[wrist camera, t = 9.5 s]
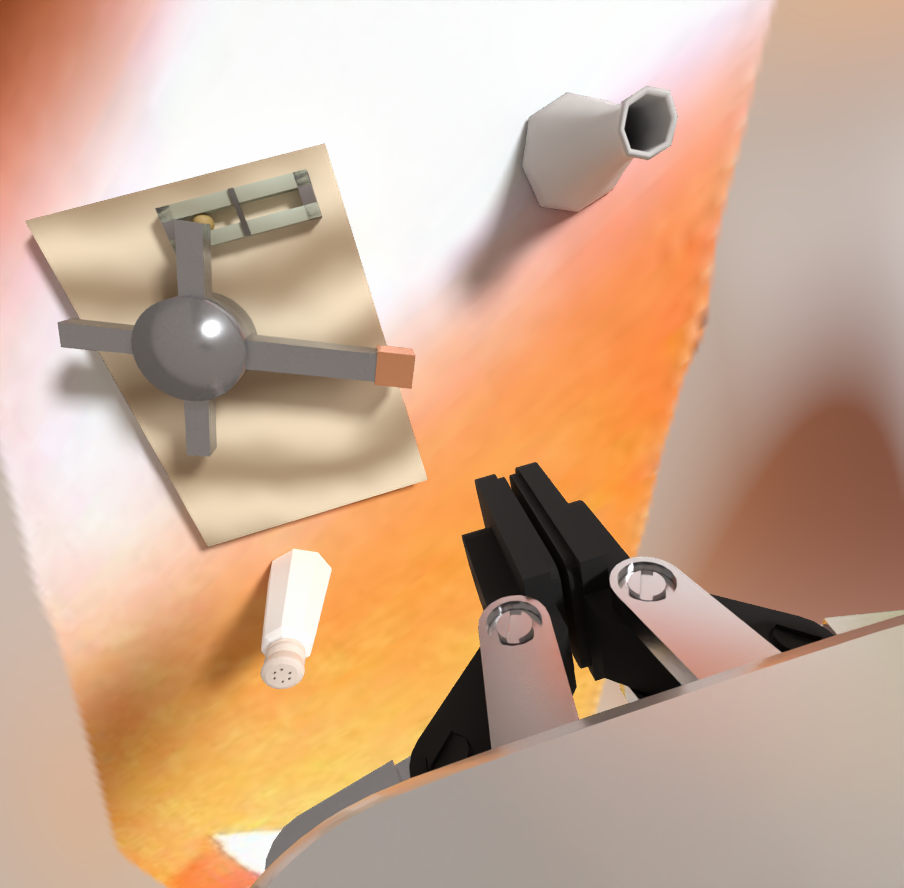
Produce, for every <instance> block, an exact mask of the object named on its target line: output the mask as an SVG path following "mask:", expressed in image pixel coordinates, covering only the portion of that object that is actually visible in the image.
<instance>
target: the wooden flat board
mask: <svg viewBox="0 0 904 888" xmlns="http://www.w3.org/2000/svg"><path fill="white" fill-rule="evenodd" d="M174 219H176V220H184V221H190V222H197V223H203V224H210V235H211V268H212V292H215V293H218V294H221V295H224V296H226V297H228V298H230V299H231V300H233V301H235V302H236V303H237V304H239V305H240V306H241V307H242V308H243V309H244V310H245V311H246V313H247V314H248V315H249V317H250V318H251V320H252V322H253V324H254V326H255V328H256V331H257V335H264V336H273V337H281V338H290V339H299V340H308V341H317V342H326V343H335V344H344V345H353V346H362V347H371V348H376V346H377V345H383V346H387V345H386V342H385V339H384V335H383V332H382V329H381V325H380V322H379V319H378V316H377V312H376V309H375V306H374V303H373V299H372V296H371V293H370V290H369V286H368V283H367V280H366V276H365V273H364V270H363V267H362V263H361V260H360V257H359V254H358V250H357V247H356V244H355V241H354V237H353V234H352V231H351V227H350V224H349V221H348V218H347V214H346V211H345V208H344V205H343V201H342V198H341V195H340V192H339V188H338V185H337V182H336V179H335V175H334V172H333V169H332V165H331V162H330V159H329V156H328V152H327V149H326V146H325V144H321V145H317V146H313V147H309V148H306V149H302V150H298V151H294V152H290V153H286V154H282V155H278V156H275V157H271V158H267V159H263V160H259V161H255V162H251V163H247V164H244V165H240V166H236V167H232V168H228V169H224V170H220V171H216V172H213V173H209V174H205V175H201V176H197V177H193V178H189V179H185V180H182V181H178V182H174V183H170V184H166V185H162V186H158V187H154V188H151V189H147V190H143V191H139V192H135V193H131V194H127V195H123V196H120V197H116V198H112V199H108V200H104V201H100V202H96V203H92V204H89V205H85V206H81V207H77V208H73V209H69V210H65V211H61V212H58V213H54V214H50V215H46V216H42V217H38V218H34V219H30V220H27V221H25V222H26V224H27V225H28V227H29V229H30V231H31V232H32V234H33V236H34V238H35V240H36V241H37V243H38V245H39V247H40V249H41V250H42V252H43V254H44V256H45V257H46V259H47V261H48V263H49V265H50V266H51V268H52V270H53V272H54V273H55V275H56V277H57V279H58V281H59V282H60V284H61V286H62V288H63V289H64V291H65V293H66V295H67V297H68V298H69V300H70V302H71V304H72V305H73V307H74V309H75V311H76V313H77V314H78V316H79V318H80V319H84V320H93V321H102V322H111V323H120V324H129V325H135V323H136V321H137V319H138V318H139V316H140V315H141V314H142V313H143V312H144V311H145V310H146V309H147V308H149V307H150V306H151V305H153V304H155V303H157V302H160V301H163V300H166V299H169V298H173V297H176V296H178V283H177V264H176V246H175V227H174ZM98 352H99V354H100V355H101V357H102V359H103V361H104V362H105V364H106V366H107V368H108V370H109V371H110V373H111V375H112V377H113V378H114V380H115V382H116V384H117V386H118V387H119V389H120V391H121V393H122V394H123V396H124V398H125V400H126V402H127V403H128V405H129V407H130V409H131V410H132V412H133V414H134V416H135V418H136V419H137V421H138V423H139V425H140V427H141V428H142V430H143V432H144V434H145V435H146V437H147V439H148V441H149V443H150V444H151V446H152V448H153V450H154V451H155V453H156V455H157V457H158V459H159V460H160V462H161V464H162V466H163V467H164V469H165V471H166V473H167V475H168V476H169V478H170V480H171V482H172V483H173V485H174V487H175V489H176V491H177V492H178V494H179V496H180V498H181V499H182V501H183V503H184V505H185V507H186V508H187V510H188V512H189V514H190V516H191V517H192V519H193V521H194V523H195V524H196V526H197V528H198V530H199V532H200V533H201V535H202V537H203V539H204V540H205V542H206V544H207V546H208V547H210V546H213V545H216V544H220V543H223V542H226V541H229V540H233V539H236V538H239V537H242V536H246V535H249V534H252V533H256V532H259V531H262V530H265V529H269V528H272V527H275V526H278V525H282V524H285V523H288V522H291V521H295V520H298V519H301V518H304V517H308V516H311V515H314V514H318V513H321V512H324V511H327V510H331V509H334V508H337V507H340V506H344V505H347V504H350V503H353V502H357V501H360V500H363V499H366V498H370V497H373V496H376V495H380V494H383V493H386V492H389V491H393V490H396V489H399V488H402V487H406V486H409V485H412V484H415V483H419V482H422V481H425V480H427V476H426V473H425V469H424V466H423V463H422V459H421V456H420V453H419V450H418V446H417V443H416V440H415V437H414V433H413V430H412V427H411V423H410V420H409V417H408V414H407V410H406V407H405V404H404V401H403V397H402V394H401V391H400V388H399V387H389V386H378V385H375V384H374V382H372V381H362V380H352V379H341V378H331V377H320V376H310V375H300V374H289V373H279V372H269V371H258V370H247V371H246V372H245V373H244V375H243V376H242V377H241V378H240V379H239V380H238V381H237V383H236V384H235V385H234V386H233V387H232V388H231V389H230V390H229V391H227V392H226V393H224V394H223V395H221V396H219V397H217V398H215V402H216V435H217V448H216V449H215V451H214V452H213V453H212V455H211V456H210V457H209V456H192V455H187V449H186V430H185V412H184V400H182V399H178V398H175V397H172V396H170V395H168V394H166V393H164V392H162V391H161V390H159V389H157V388H156V387H155V386H154V385H152V384H151V383H150V382H149V381H148V380H147V379H146V378H145V376H144V375H143V374H142V373H141V371H140V369H139V368H138V366H137V364H136V362H135V359H134V356H133V354H126V353H116V352H105V351H98Z"/></svg>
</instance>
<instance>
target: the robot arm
mask: <svg viewBox="0 0 904 888" xmlns="http://www.w3.org/2000/svg"><path fill="white" fill-rule="evenodd" d="M515 472H516V474H512V475H510V483H511V487H510V486H509V484H508V482H507V481H506V479H505V478H504V477H502V478H499V479H498V478H497V476H496V475H495V474H493V475H489V476H486V477H482V478H479V479H476V480H475V485H476V490H477V494H478V498H479V503H480V507H481V511H482V516H483V520H484V524H485V528H484V529H481V530H478V531H474V532H471V533H468V534H464V535H462V539H463V543H464V547H465V551H466V555H467V559H468V562H469V566H470V570H471V573H472V576H473V580H474V583H475V586H476V589H477V592H478V595H479V598H480V601H481V604H482V607H483V610H484V611H483V613H482V615H481V617H480V619H479V627H478V630H479V640H480V648H479V649H478V651H477V652H476V654H475V655H474V657H473V658H472V660H471V661H470V663H469V664H468V666H467V667H466V669H465V670H464V672H463V673H462V675H461V676H460V678H459V679H458V681H457V682H456V684H455V685H454V687H453V688H452V690H451V691H450V693H449V694H448V696H447V697H446V699H445V700H444V702H443V703H442V705H441V706H440V708H439V709H438V711H437V712H436V714H435V715H434V717H433V718H432V720H431V721H430V723H429V724H428V726H427V727H426V729H425V730H424V732H423V733H422V735H421V736H420V738H419V739H418V741H417V743H416V745H415V747H414V749H413V751H412V754H411V756H410V757H408V758H406V759H405V760H403V761H401V762H400V763H398V764H396V765H394V762H393V760H391V761H390V762H388V763H386V764H385V765H383V766H381V767H380V768H378V769H376V770H375V771H373V772H371V773H369V774H368V775H366V776H364V777H363V778H361V779H359V780H358V781H356V782H354V783H353V784H351V785H349V786H348V787H346V788H344V789H343V790H341V791H339V792H337V793H336V794H334V795H332V796H331V797H329V798H327V799H326V800H324V801H322V802H321V803H319V804H317V805H316V806H314V807H312V808H311V809H309V810H307V811H305V812H304V813H302V814H300V815H299V816H297V817H296V818H295V819H293V820H292V821H291V822H290V823H288V824H287V825H286V826H285V827H284V828H283V829H282V831H281V832H280V833H279V835H278V836H277V837H276V839H275V840H274V842H273V844H272V846H271V849H270V851H269V854H268V856H267V859H266V866H265V871H264V872H263V873H262V874H261V875H260V877H259V878H258V879H257V880H256V881H255V882H254V883H253V885H252V886H251V887H250V888H904V610H898V611H888V612H880V613H869V614H861V615H850V616H840V617H831V618H824V621H823V624H822V625H819V624H817V623H815V622H814V621H811V620H808V619H805V618H802V617H799V616H796V615H792V614H788V613H784V612H780V611H776V610H772V609H768V608H764V607H760V606H756V605H752V604H747V603H744V602H739V601H736V600H732V599H728V598H724V597H720V596H715V595H711V594H708V593H707V592H706V591H705V590H704V589H702V588H701V587H700V586H699V585H697V584H696V583H695V582H694V581H692V580H691V579H690V578H689V577H688V576H686V575H685V574H684V573H682V572H681V571H680V570H679V569H678V568H676V567H675V566H673V565H672V564H670V563H668V562H667V561H664V560H661V559H658V558H653V557H633V558H629V556H628V555H627V554H626V553H625V551H624V550H623V549H622V548H621V547H620V545H619V544H618V543H617V542H616V541H615V539H614V538H613V537H612V536H611V534H610V533H609V532H608V531H607V530H606V528H605V527H604V526H603V525H602V524H601V522H600V521H599V520H598V519H597V517H596V516H595V515H594V514H593V513H592V511H591V510H590V509H589V508H588V506H587V505H586V504H585V503H584V502H583V501H581V500H578V501H575V502H572V503H567V502H566V500H565V499H564V498H563V496H562V495H561V494H560V492H559V491H558V490H557V488H556V487H555V486H554V484H553V483H552V482H551V481H550V479H549V478H548V477H547V475H546V474H545V473H544V471H543V470H542V469H541V467H540V466H539V465H538V464H537V463H536V462H534V463H531V464H527V465H524V466H520V467H517V468H516V469H515ZM572 654H573V656H574V658H575V660H576V662H577V664H578V666H579V667H580V668H581V669H582V668H585V667H588V668H589V670H590V672H591V674H592V676H593V677H594V679H595V681H597V680H600V679H603V678H607V679H610V680H612V681H615V682H617V683H619V684H620V689H621V691H622V693H623V695H624V696H625V698H626V699H627V701H628V702H629V703H628V704H625V705H622V706H619V707H616V708H613V709H610V710H607V711H604V712H601V713H598V714H595V715H592V716H589V717H586V718H583V719H580V720H579V717H578V714H577V710H576V707H575V703H574V700H573V694H574V692H575V689H576V687H577V686H576V680H575V673H574V664H573V657H572Z"/></svg>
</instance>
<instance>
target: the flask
mask: <svg viewBox="0 0 904 888" xmlns="http://www.w3.org/2000/svg"><path fill="white" fill-rule="evenodd" d="M677 118H678V116H677V113H676V109H675V106H674V102H673V99H672V96H671V92H670V90H665V89H660V88H655V87H650V86H646V87H644V88H642V89H641V90H639V91H638V92H636V93H635V94H633V95H631V96H630V97H628V98H627V99H625V100H624V101H622V103H621V104H615V103H612V102H610V101H607V100H602V99H597V98H592V97H587V96H582V95H577V94H572V93H565V94H564V95H562V96H561V97H559V98H558V99H556V100H555V101H553V102H552V103H550V104H548V105H547V106H545V107H544V108H542V109H541V110H539V111H538V112H536V113H535V114H533V115H532V116H530V117H529V123H528V130H527V136H526V143H525V150H524V157H523V164H522V167H523V169H524V171H525V174H526V176H527V178H528V180H529V183H530V185H531V187H532V190H533V192H534V194H535V196H536V199H537V201H538V203H539V205H540V207H546V208H553V209H560V210H567V211H574V212H579V211H580V210H582V209H583V208H585V207H586V206H588V205H590V204H591V203H593V202H594V201H596V200H597V199H599V198H601V197H602V196H604V195H605V194H607V193H608V192H610V191H612V190H613V188H614V187H615V185H616V184H617V182H618V180H619V179H620V177H621V175H622V173H623V172H624V171H625V169H626V168H627V166H628V165H629V164H630V162H631V161H632V159H633V158H639V159H644V160H649V159H651V158H652V157H654V156H655V155H657V154H658V153H660V152H662V151H663V150H665V149H666V148H668V147H669V146H671V143H672V139H673V135H674V131H675V127H676V122H677Z"/></svg>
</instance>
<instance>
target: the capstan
mask: <svg viewBox="0 0 904 888" xmlns="http://www.w3.org/2000/svg"><path fill="white" fill-rule="evenodd" d="M174 227H175V246H176V264H177V283H178V296H176V297H173V298H169V299H166V300H163V301H160V302H157V303H155V304H153V305H151V306H150V307H149V308H147V309H146V310H145V311H144V312H143V313H142V314H141V315H140V316H139V318H138V319H137V321H136V323H135V325H129V324H120V323H111V322H102V321H93V320H84V319H74V318H72V319H69V320H65V321H61V322H58V329H59V336H60V343H61V347H65V348H75V349H85V350H95V351H105V352H116V353H126V354H133V356H134V359H135V362H136V364H137V366H138V368H139V369H140V371H141V373H142V374H143V375H144V376H145V378H146V379H147V380H148V381H149V382H150V383H151V384H152V385H154V386H155V387H156V388H157V389H159V390H161V391H162V392H164V393H166V394H168V395H170V396H172V397H175V398H178V399H182V400H184V412H185V430H186V449H187V455H192V456H209V457H210V456H211V455H212V453H213V452H214V451H215V449H216V448H217V435H216V402H215V398H217V397H219V396H221V395H223V394H224V393H226V392H227V391H229V390H230V389H231V388H232V387H233V386H234V385H235V384H236V383H237V381H238V380H239V379H240V378H241V377H242V376H243V375H244V373H245V372H246V371H247V370H258V371H269V372H279V373H289V374H300V375H310V376H320V377H331V378H341V379H352V380H362V381H372V382H374V384H375V385H378V386H389V387H399V388H410V389H411V388H412V380H413V371H414V363H415V354H414V352H413V350H412V349H409V348H400V347H392V346H383V345H377V346H376V348H371V347H362V346H353V345H344V344H335V343H326V342H317V341H308V340H299V339H290V338H281V337H273V336H264V335H257V331H256V328H255V326H254V324H253V322H252V320H251V318H250V317H249V315H248V314H247V313H246V311H245V310H244V309H243V308H242V307H241V306H240V305H239V304H237V303H236V302H235V301H233V300H231V299H230V298H228V297H226V296H224V295H221V294H218V293H215V292H212V268H211V235H210V224H203V223H197V222H190V221H184V220H176V219H174Z"/></svg>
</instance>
